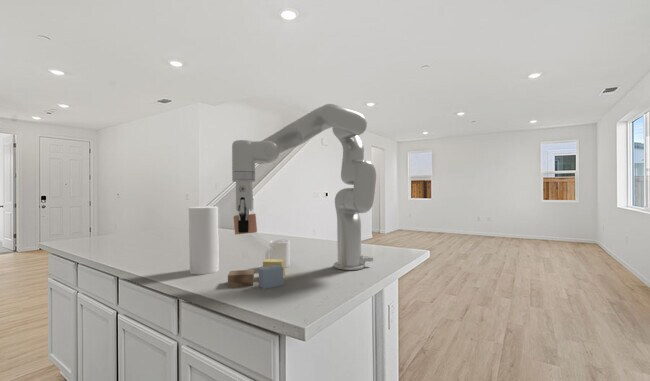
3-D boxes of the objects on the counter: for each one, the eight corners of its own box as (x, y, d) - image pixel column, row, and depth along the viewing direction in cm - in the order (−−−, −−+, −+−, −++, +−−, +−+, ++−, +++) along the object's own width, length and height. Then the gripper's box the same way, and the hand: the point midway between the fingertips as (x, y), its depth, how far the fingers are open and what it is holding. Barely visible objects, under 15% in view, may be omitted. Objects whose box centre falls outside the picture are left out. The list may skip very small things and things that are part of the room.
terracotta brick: (257, 230, 113) (255, 213, 113) (256, 232, 109) (255, 214, 109) (236, 232, 112) (234, 215, 112) (235, 234, 108) (233, 216, 108)
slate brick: (278, 282, 112) (277, 264, 111) (283, 285, 108) (283, 267, 108) (258, 286, 108) (258, 267, 108) (263, 289, 104) (263, 270, 104)
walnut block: (253, 281, 114) (253, 269, 114) (252, 286, 108) (252, 274, 108) (230, 282, 113) (230, 270, 113) (227, 287, 107) (227, 275, 107)
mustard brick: (285, 276, 119) (284, 259, 119) (281, 279, 115) (281, 262, 115) (267, 275, 121) (266, 259, 120) (263, 278, 117) (262, 261, 117)
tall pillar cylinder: (218, 266, 134) (217, 205, 134) (219, 272, 124) (217, 207, 124) (190, 268, 131) (189, 206, 131) (188, 275, 121) (187, 208, 121)
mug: (273, 272, 125) (272, 245, 124) (258, 269, 130) (258, 243, 129) (294, 265, 134) (294, 240, 134) (279, 263, 139) (279, 238, 139)
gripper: (253, 176, 102) (253, 234, 103) (256, 178, 119) (256, 228, 119) (229, 176, 101) (229, 235, 101) (235, 178, 118) (235, 228, 118)
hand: (244, 230), depth 110 cm, fingers closed on terracotta brick, 4 cm apart
